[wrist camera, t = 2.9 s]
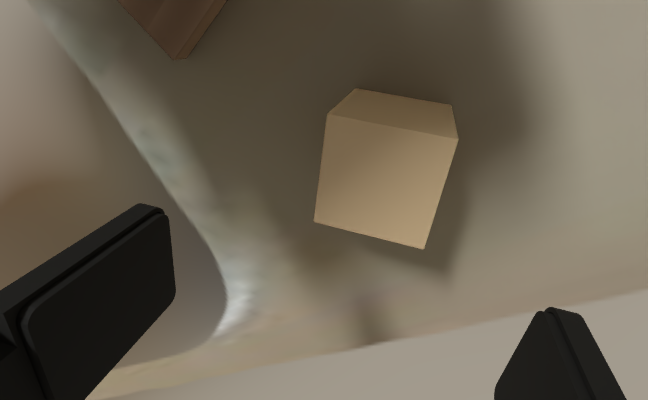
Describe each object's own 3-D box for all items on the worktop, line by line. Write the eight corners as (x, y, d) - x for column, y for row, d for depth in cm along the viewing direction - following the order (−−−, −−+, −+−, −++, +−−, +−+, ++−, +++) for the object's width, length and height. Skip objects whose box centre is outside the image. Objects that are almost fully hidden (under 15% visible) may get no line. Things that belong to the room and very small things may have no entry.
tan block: (451, 104, 18) (458, 139, 13) (425, 191, 21) (423, 249, 15) (355, 87, 19) (327, 113, 14) (342, 172, 21) (313, 221, 16)
